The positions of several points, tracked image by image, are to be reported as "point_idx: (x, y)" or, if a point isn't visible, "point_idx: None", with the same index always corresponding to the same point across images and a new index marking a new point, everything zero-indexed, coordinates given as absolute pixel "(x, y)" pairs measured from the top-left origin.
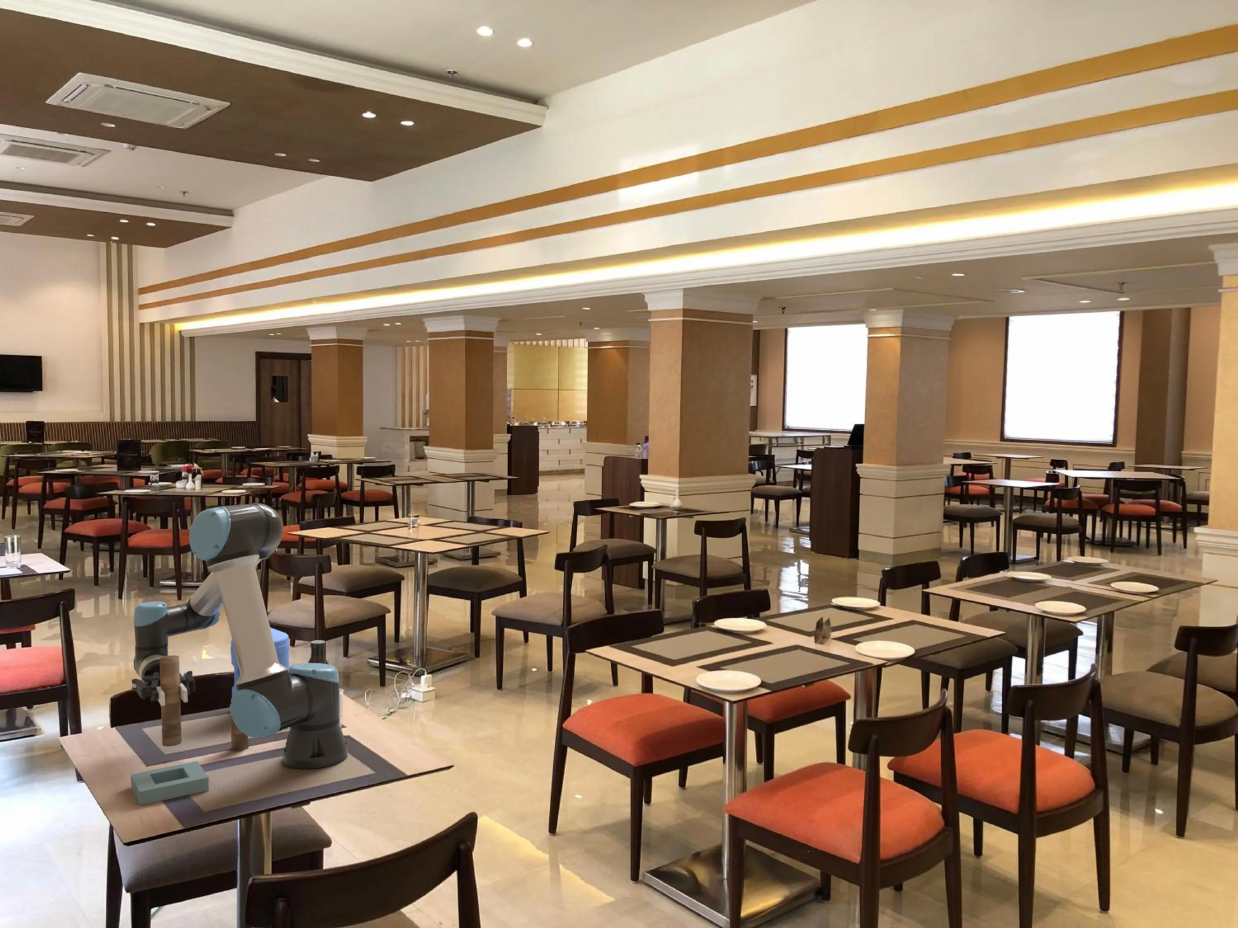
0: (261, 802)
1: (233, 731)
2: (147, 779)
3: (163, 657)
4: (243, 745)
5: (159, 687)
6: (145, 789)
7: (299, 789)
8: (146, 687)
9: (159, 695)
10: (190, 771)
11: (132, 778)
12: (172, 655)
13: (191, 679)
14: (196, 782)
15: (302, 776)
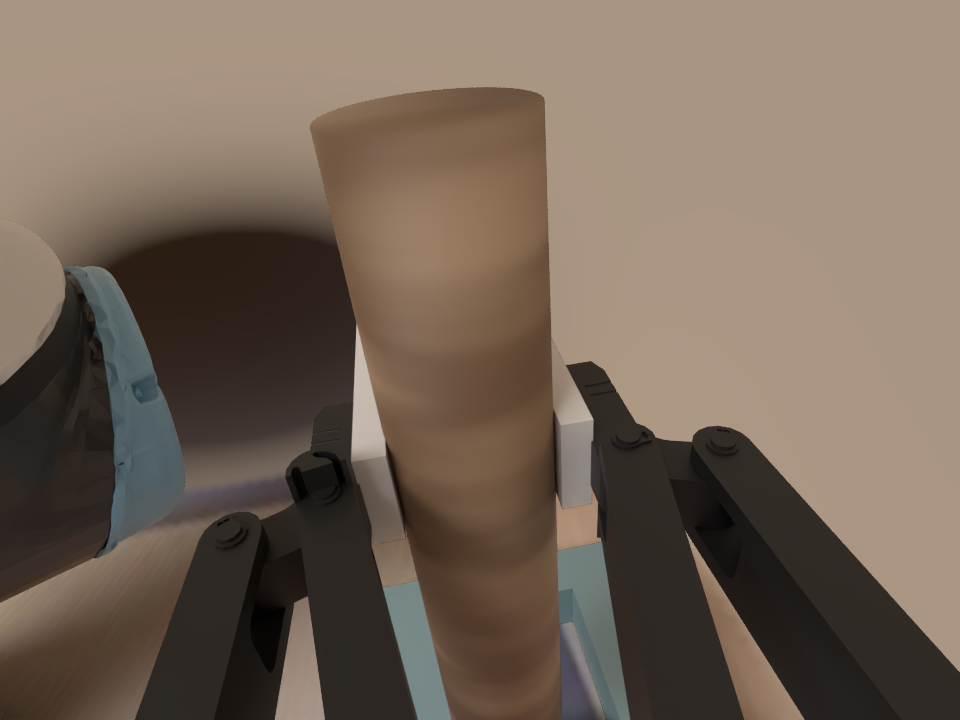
0: (274, 484)
1: None
2: (616, 654)
3: (499, 112)
4: None
5: (562, 404)
6: (600, 552)
7: (143, 531)
8: (702, 449)
9: None
10: (433, 687)
11: None
12: (375, 140)
13: (210, 595)
14: None
15: (59, 632)
